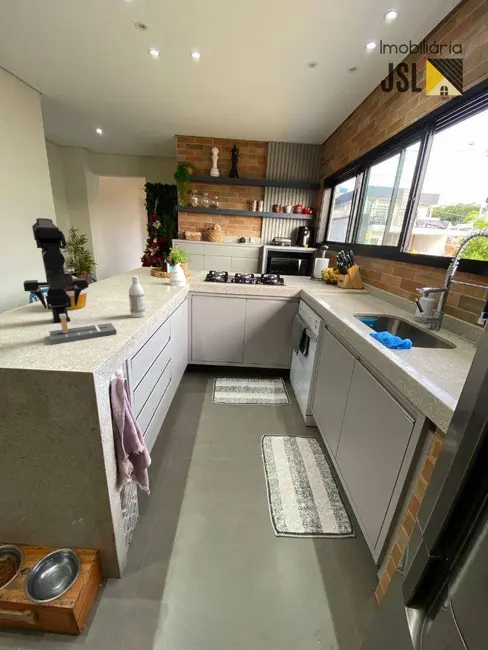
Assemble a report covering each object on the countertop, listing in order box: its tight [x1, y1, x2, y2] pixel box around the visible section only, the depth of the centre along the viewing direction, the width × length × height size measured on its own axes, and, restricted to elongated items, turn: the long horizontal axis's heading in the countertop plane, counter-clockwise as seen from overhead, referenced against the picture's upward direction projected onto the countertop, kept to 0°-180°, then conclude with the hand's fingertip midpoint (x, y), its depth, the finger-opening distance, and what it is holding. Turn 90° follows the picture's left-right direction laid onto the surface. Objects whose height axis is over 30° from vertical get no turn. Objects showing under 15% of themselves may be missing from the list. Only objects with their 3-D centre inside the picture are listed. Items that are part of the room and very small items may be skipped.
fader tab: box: [59, 314, 69, 333], centre depth 101 cm, size 3×2×7 cm, turn 37°
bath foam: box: [128, 275, 146, 318], centre depth 131 cm, size 7×7×20 cm
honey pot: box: [169, 262, 187, 287], centre depth 217 cm, size 13×13×18 cm
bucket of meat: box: [47, 270, 91, 311], centre depth 139 cm, size 20×16×20 cm
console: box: [48, 322, 118, 346], centre depth 106 cm, size 10×22×2 cm, turn 127°
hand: (61, 307), depth 98 cm, fingers open, 9 cm apart
